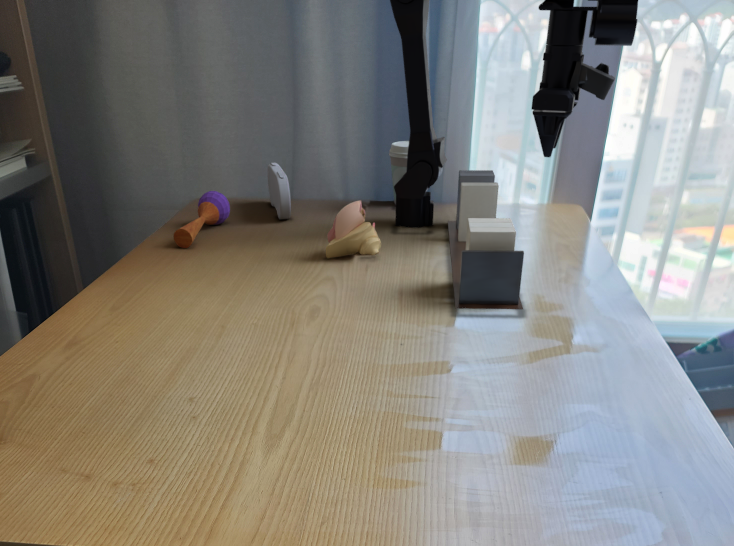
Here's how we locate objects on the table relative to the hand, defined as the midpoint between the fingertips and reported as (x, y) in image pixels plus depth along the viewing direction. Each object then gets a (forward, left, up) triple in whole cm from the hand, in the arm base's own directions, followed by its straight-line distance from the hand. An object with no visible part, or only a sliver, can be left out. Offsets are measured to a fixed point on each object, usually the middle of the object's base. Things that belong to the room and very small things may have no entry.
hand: (549, 152), depth 127 cm
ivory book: (-12, -8, -13) cm, 19 cm away
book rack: (-12, -18, -14) cm, 26 cm away
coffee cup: (-24, +20, -14) cm, 34 cm away
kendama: (-61, -1, -14) cm, 63 cm away
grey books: (-12, +2, -13) cm, 17 cm away
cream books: (-12, -35, -13) cm, 39 cm away
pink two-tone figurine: (-33, -15, -14) cm, 39 cm away
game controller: (-50, +16, -14) cm, 54 cm away
